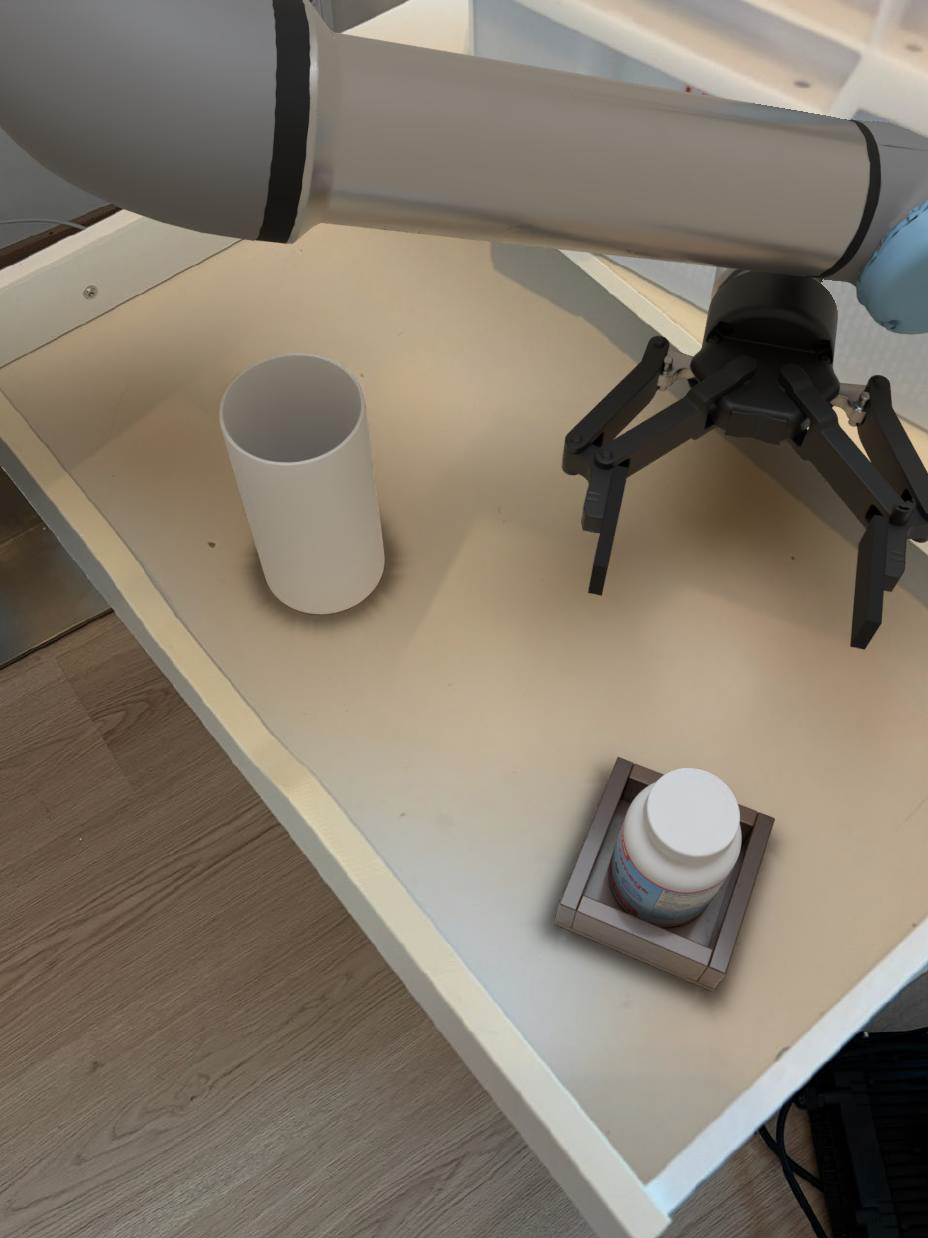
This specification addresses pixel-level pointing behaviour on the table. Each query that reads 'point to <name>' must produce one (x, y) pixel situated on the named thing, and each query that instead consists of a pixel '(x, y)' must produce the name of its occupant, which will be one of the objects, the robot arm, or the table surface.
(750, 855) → the brown square shallow tray
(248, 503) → the cup
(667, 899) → the pill bottle
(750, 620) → the table surface
